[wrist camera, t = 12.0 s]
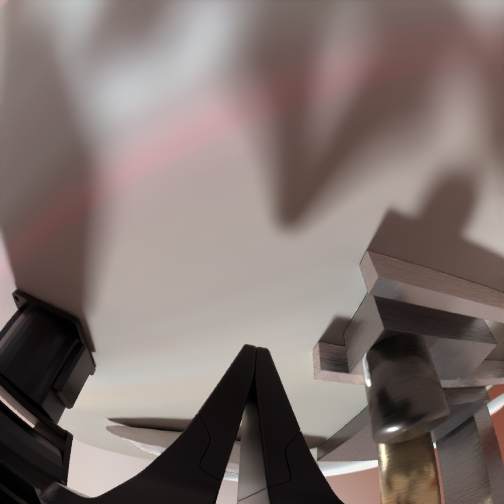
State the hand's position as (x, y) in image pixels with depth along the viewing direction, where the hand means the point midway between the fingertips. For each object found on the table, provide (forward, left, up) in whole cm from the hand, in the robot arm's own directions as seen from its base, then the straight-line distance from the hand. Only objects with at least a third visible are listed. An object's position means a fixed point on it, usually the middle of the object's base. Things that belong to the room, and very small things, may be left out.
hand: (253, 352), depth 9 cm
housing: (+16, -12, -2) cm, 20 cm away
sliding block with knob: (+9, 0, -3) cm, 9 cm away
